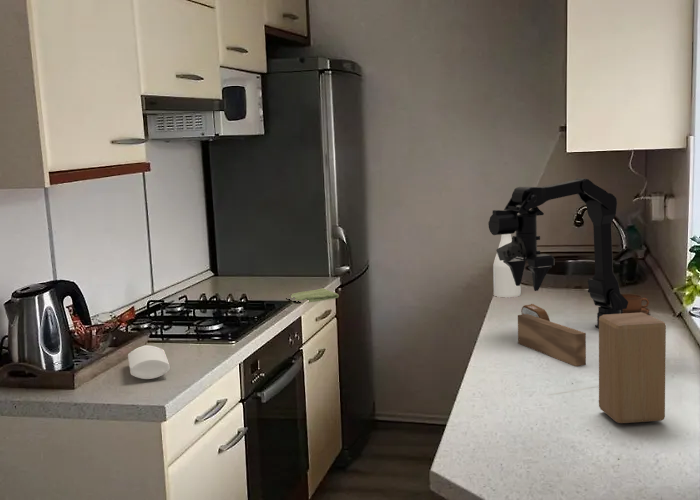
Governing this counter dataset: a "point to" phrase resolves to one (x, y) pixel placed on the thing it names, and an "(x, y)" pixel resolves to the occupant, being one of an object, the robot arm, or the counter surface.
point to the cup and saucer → (635, 304)
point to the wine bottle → (504, 275)
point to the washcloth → (315, 295)
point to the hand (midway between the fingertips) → (526, 288)
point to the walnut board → (552, 339)
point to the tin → (535, 311)
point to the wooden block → (632, 367)
